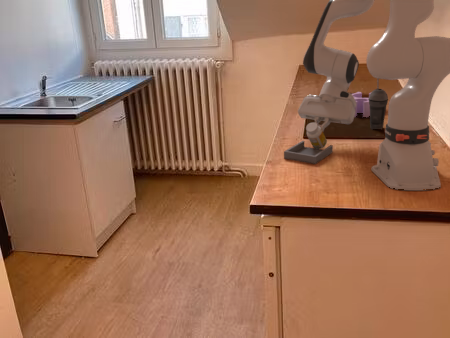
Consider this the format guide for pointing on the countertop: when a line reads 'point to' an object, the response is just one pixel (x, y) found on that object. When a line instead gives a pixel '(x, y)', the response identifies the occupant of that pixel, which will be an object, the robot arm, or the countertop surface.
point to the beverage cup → (377, 107)
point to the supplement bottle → (316, 135)
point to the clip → (361, 104)
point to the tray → (307, 153)
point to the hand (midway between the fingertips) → (318, 130)
